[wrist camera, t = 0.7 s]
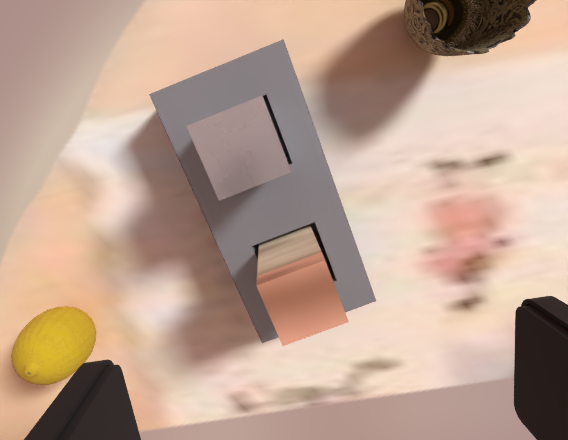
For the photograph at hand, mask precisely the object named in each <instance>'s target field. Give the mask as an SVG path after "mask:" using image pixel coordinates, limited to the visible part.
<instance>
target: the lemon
mask: <svg viewBox="0 0 568 440" xmlns="http://www.w3.org/2000/svg"><path fill="white" fill-rule="evenodd" d="M95 341H96V329H95V325H94V323H93V321H92V319H91V318H90V317H89V316H88V315H87V314H86V313H85V312H83V311H82V310H80V309H77V308H74V307H56V308H53V309H50V310H47V311H45V312H43V313H41V314H40V315H38V316H36V317H35V318H34V319H32V320H31V321H30V322H29V323H28V324H27V325H26V326H25V327H24V329H23V330H22V331H21V332H20V334H19V336H18V338H17V340H16V342H15V344H14V346H13V350H12V364H13V366H14V369H15V371H16V372H17V373H18V375H19V376H20V377H22V378H23V379H24V380H26V381H28V382H30V383H34V384H42V385H46V384H52V383H56V382H58V381H61V380H63V379H65V378H67V377H68V376H70V375H71V374H72V373H74V372H75V371H76V370H78V368H79V367H80V366H81V365H82V364H83V363H84V362H85V361H86V360H87V359H88V357H89V356H90V354H91V352H92V350H93V347H94V345H95Z"/></svg>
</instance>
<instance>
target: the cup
mask: <svg viewBox="0 0 568 440" xmlns="http://www.w3.org/2000/svg"><path fill="white" fill-rule="evenodd" d="M535 1H536V0H406V2H405V9H404V17H405V24H406V27H407V30H408V33H409V35H410V37H411V38H412V40H413V41H414V42H415V43H416V44H417V45H418V46H419V47H420V48H422V49H423V50H425V51H427V52H429V53H432V54H435V55H441V56H458V55H469V54H483V53H487V52H489V51H488V50H489V49H491V48H494V47H496V46H497V45H498V44H500V43H502V42H505V41H507V40H510V39H512V38H513V37H515V32H516V31H518V30H520V29H521V28H523V27H524V26H526V25H527V24H528V23H529V21H530V18H531V17H530V13H529V10H528V7H529V6H530V5H531V4H533V3H534V2H535ZM427 9H433V10H435V11H436V12H437V14H438V16H439V23H438V25H437V27H436V28H435V29H434V30H431V25H430V23H428V22H427V20H426V18H425V15H424V11H425V10H427Z"/></svg>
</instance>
